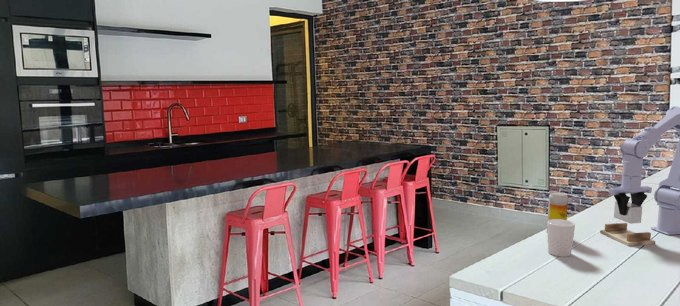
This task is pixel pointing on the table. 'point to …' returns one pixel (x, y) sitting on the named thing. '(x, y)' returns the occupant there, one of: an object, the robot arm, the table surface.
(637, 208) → the aluminium block
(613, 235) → the birch cradle
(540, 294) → the table surface
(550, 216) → the beer can
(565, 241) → the white cup
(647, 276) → the table surface
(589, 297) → the table surface
